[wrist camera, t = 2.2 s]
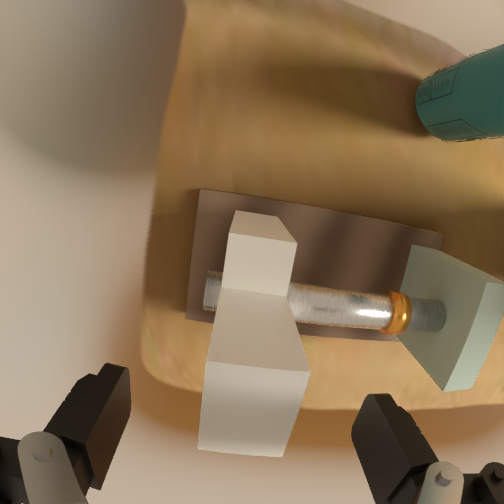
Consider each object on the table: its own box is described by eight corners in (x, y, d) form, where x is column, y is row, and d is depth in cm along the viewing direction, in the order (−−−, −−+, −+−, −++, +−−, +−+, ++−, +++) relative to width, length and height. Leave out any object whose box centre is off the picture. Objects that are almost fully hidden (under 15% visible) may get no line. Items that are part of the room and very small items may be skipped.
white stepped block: (277, 216, 23) (333, 292, 8) (257, 329, 25) (268, 490, 10) (235, 210, 22) (216, 276, 8) (219, 324, 24) (194, 483, 10)
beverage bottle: (432, 157, 25) (620, 163, 5) (391, 98, 24) (569, 30, 4) (467, 121, 24) (631, 107, 4) (430, 66, 23) (585, 2, 3)
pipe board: (436, 231, 27) (444, 234, 25) (406, 335, 29) (412, 341, 28) (202, 188, 25) (199, 189, 24) (188, 311, 28) (185, 318, 26)
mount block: (437, 249, 25) (512, 286, 15) (413, 328, 27) (470, 388, 17) (411, 244, 25) (486, 282, 15) (388, 326, 27) (443, 391, 17)
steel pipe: (447, 293, 21) (467, 306, 18) (435, 326, 22) (454, 343, 19) (211, 260, 20) (206, 274, 17) (206, 302, 21) (200, 321, 18)
